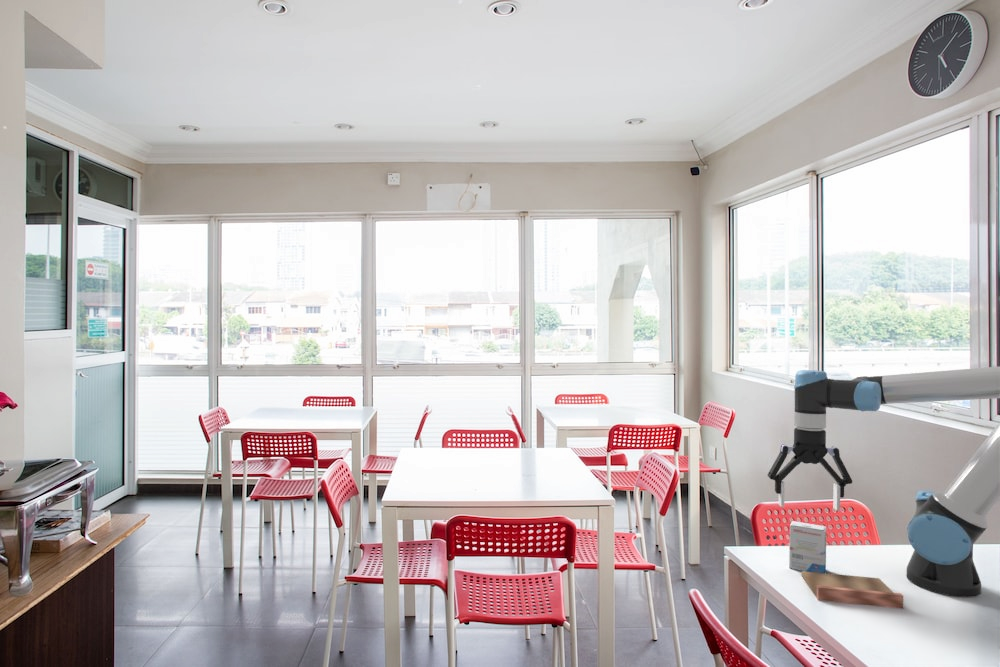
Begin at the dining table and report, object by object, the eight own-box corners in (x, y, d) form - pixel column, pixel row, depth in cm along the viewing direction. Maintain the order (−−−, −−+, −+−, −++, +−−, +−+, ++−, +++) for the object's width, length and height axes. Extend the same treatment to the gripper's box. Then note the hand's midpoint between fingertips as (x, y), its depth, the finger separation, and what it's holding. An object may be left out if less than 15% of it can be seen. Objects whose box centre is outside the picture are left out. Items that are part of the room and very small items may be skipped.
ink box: (826, 569, 157) (827, 525, 157) (825, 575, 153) (825, 530, 153) (790, 562, 162) (791, 519, 162) (788, 568, 157) (789, 524, 157)
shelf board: (879, 584, 148) (879, 572, 148) (903, 608, 135) (903, 595, 135) (801, 576, 152) (802, 565, 152) (818, 600, 139) (818, 587, 139)
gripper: (855, 427, 158) (854, 506, 158) (756, 424, 163) (755, 500, 163) (867, 432, 150) (866, 515, 151) (763, 428, 155) (762, 508, 156)
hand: (808, 507), depth 157 cm, fingers open, 13 cm apart
